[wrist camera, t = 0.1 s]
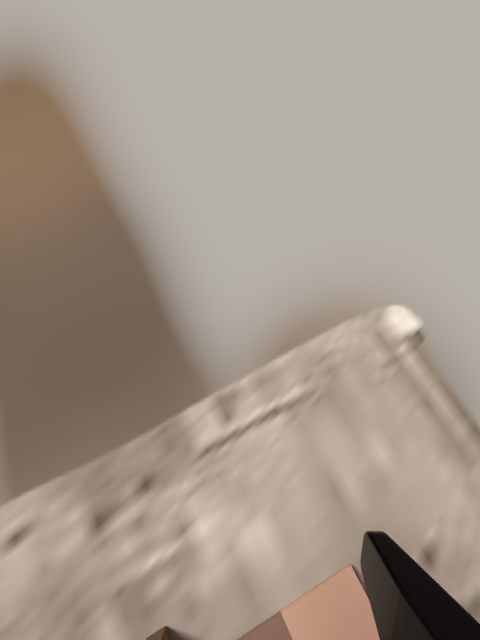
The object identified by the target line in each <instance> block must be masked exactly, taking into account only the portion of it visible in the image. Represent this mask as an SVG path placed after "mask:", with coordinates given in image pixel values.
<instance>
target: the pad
mask: <svg viewBox="0 0 480 640" xmlns="http://www.w3.org/2000/svg"><path fill="white" fill-rule="evenodd" d="M238 640H380V639H379V635H378V631H377V628H376V624H375V620H374V616H373V612H372V609H371V605H370V601H369V599H368V597H367V595H366V593H365V591H364V589H363V587H362V586H361V584H360V582H359V580H358V578H357V576H356V574H355V572H354V570H353V568H352V566H351V565H349V566H347V567H346V568H344V569H343V570H341V571H340V572H338V573H337V574H335V575H334V576H332V577H331V578H329V579H328V580H326V581H325V582H323V583H322V584H320V585H319V586H317V587H316V588H314V589H313V590H311V591H310V592H308V593H307V594H305V595H304V596H302V597H301V598H299V599H298V600H296V601H295V602H293V603H292V604H290V605H289V606H287V607H286V608H284V609H283V610H281V611H280V612H278V613H277V614H275V615H274V616H272V617H271V618H269V619H268V620H266V621H265V622H263V623H262V624H260V625H259V626H257V627H256V628H254V629H253V630H251V631H250V632H248V633H247V634H245V635H244V636H242V637H241V638H239V639H238Z"/></svg>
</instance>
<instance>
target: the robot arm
mask: <svg viewBox="0 0 480 640" xmlns="http://www.w3.org/2000/svg"><path fill="white" fill-rule="evenodd" d="M361 570H362V575H363V578H364V582H365V586H366V590H367V594H368V597H369V601H370V605H371V609H372V612H373V616H374V620H375V624H376V628H377V631H378V635H379V639H380V640H480V624H479V623H478V622H477V621H476V620H475V619H474V618H473V617H472V616H471V615H470V614H469V613H468V612H467V611H466V610H465V609H464V608H463V607H462V606H461V605H460V604H459V603H458V602H457V601H456V600H455V599H454V598H452V597H451V596H450V595H449V594H448V593H447V592H446V591H445V590H444V589H443V588H442V587H441V586H440V585H439V584H438V583H437V582H436V581H435V580H434V579H433V578H432V577H431V576H430V575H429V574H428V573H427V572H426V571H424V570H423V569H422V568H421V567H420V566H419V565H418V564H417V563H416V562H415V561H414V560H413V559H412V558H411V557H410V556H409V555H408V554H407V553H406V552H405V551H404V550H403V549H402V548H401V547H400V546H399V545H398V544H396V543H395V542H394V541H393V540H392V539H391V538H390V537H389V536H388V535H387V534H386V533H384V532H382V531H366V532H365V534H364V538H363V545H362V553H361Z"/></svg>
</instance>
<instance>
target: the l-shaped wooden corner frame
mask: <svg viewBox="0 0 480 640" xmlns="http://www.w3.org/2000/svg"><path fill="white" fill-rule="evenodd" d="M146 640H170V638H169V635H168V632H167V629H166V626H165V627H163V628H162V629H160V630H158V631H157V632H155V633H154V634H152V635H151V636H149V637H147V638H146Z"/></svg>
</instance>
